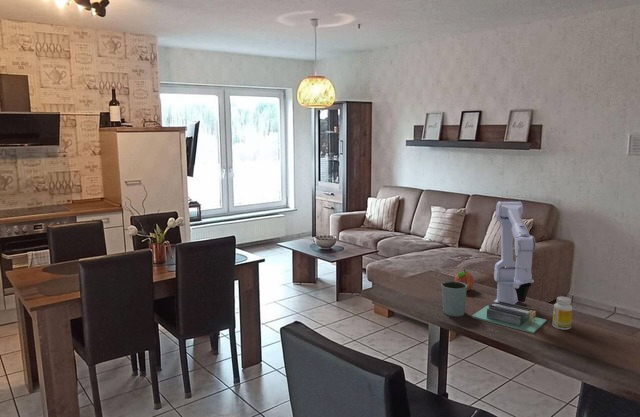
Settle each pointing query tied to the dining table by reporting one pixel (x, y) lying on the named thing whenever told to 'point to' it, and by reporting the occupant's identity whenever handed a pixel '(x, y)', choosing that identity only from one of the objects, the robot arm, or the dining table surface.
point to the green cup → (454, 298)
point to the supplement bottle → (562, 313)
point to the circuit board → (525, 327)
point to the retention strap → (510, 309)
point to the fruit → (465, 278)
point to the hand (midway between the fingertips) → (521, 301)
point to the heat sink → (510, 314)
